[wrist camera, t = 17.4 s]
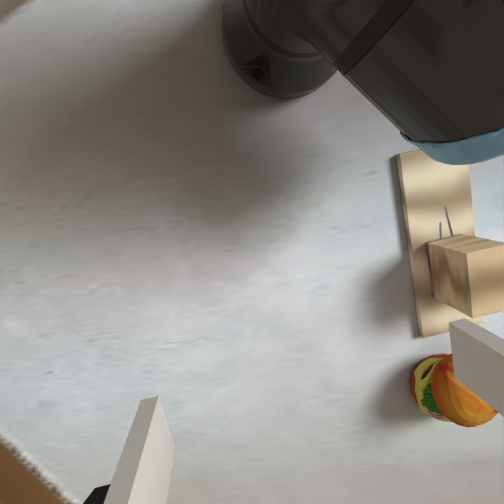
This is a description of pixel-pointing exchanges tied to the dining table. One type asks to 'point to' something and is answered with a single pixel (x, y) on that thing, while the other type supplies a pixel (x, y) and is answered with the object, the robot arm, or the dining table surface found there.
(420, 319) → the board
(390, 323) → the dining table surface
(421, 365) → the cheeseburger
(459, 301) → the block
